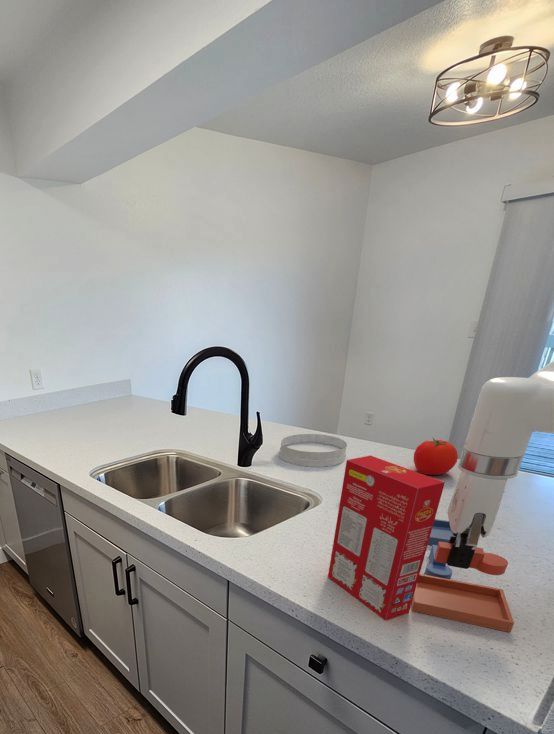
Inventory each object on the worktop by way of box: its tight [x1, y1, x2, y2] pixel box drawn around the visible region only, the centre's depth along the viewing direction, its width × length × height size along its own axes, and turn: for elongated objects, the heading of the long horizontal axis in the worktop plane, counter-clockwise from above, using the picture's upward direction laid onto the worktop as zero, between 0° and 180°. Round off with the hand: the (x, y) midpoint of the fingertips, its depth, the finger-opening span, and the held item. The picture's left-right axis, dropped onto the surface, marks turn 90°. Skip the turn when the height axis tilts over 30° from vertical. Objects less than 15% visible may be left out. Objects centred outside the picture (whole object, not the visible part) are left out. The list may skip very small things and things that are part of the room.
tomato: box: [413, 437, 459, 476], centre depth 132 cm, size 12×12×10 cm
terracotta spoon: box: [435, 541, 509, 576], centre depth 74 cm, size 4×10×3 cm, turn 62°
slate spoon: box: [423, 545, 453, 580], centre depth 88 cm, size 4×10×3 cm, turn 153°
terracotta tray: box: [411, 573, 515, 633], centre depth 78 cm, size 14×10×2 cm
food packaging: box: [327, 454, 446, 621], centre depth 77 cm, size 15×5×25 cm, turn 20°
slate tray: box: [427, 518, 455, 546], centre depth 101 cm, size 14×10×2 cm
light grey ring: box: [279, 433, 348, 468], centre depth 153 cm, size 22×22×5 cm
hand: (456, 561), depth 76 cm, fingers closed on terracotta spoon, 2 cm apart
